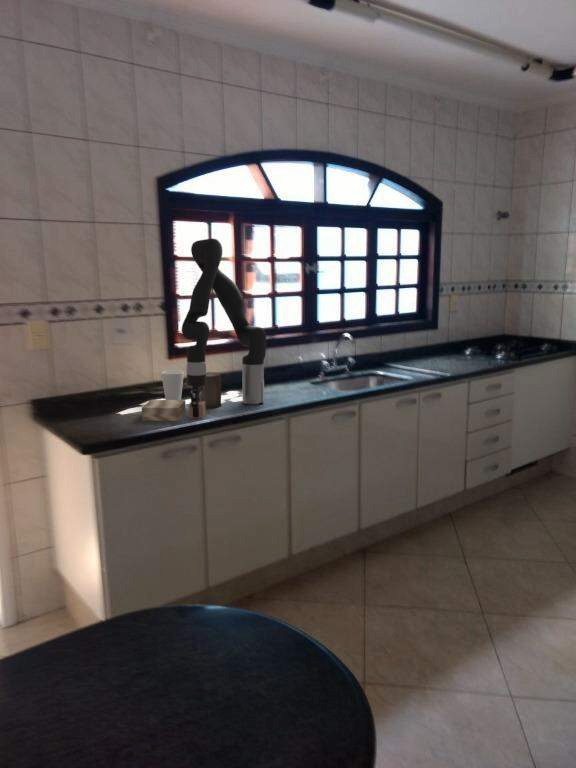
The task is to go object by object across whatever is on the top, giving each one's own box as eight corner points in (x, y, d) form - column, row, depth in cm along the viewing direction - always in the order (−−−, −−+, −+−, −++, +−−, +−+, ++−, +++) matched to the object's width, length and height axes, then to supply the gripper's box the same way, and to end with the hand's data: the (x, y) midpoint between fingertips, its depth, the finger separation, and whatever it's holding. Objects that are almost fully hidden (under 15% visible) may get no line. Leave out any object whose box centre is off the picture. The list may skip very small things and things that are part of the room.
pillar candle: (225, 404, 246) (224, 369, 244) (214, 409, 238) (213, 373, 235) (205, 402, 250) (204, 368, 247) (194, 407, 241) (192, 372, 238)
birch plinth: (185, 412, 232) (185, 400, 231) (178, 420, 218) (178, 408, 217) (151, 411, 232) (150, 399, 231) (142, 420, 219) (141, 407, 218)
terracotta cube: (205, 414, 228) (205, 401, 227) (203, 418, 222) (203, 404, 221) (191, 414, 228) (191, 401, 227) (189, 418, 222) (188, 404, 221)
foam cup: (162, 404, 245) (161, 374, 243) (161, 399, 254) (160, 370, 252) (185, 403, 248) (184, 373, 245) (183, 398, 257) (182, 370, 254)
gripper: (203, 376, 215) (204, 420, 218) (208, 369, 229) (209, 411, 232) (183, 376, 215) (184, 419, 218) (190, 369, 229) (191, 410, 232)
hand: (197, 415), depth 225 cm, fingers closed on terracotta cube, 5 cm apart
